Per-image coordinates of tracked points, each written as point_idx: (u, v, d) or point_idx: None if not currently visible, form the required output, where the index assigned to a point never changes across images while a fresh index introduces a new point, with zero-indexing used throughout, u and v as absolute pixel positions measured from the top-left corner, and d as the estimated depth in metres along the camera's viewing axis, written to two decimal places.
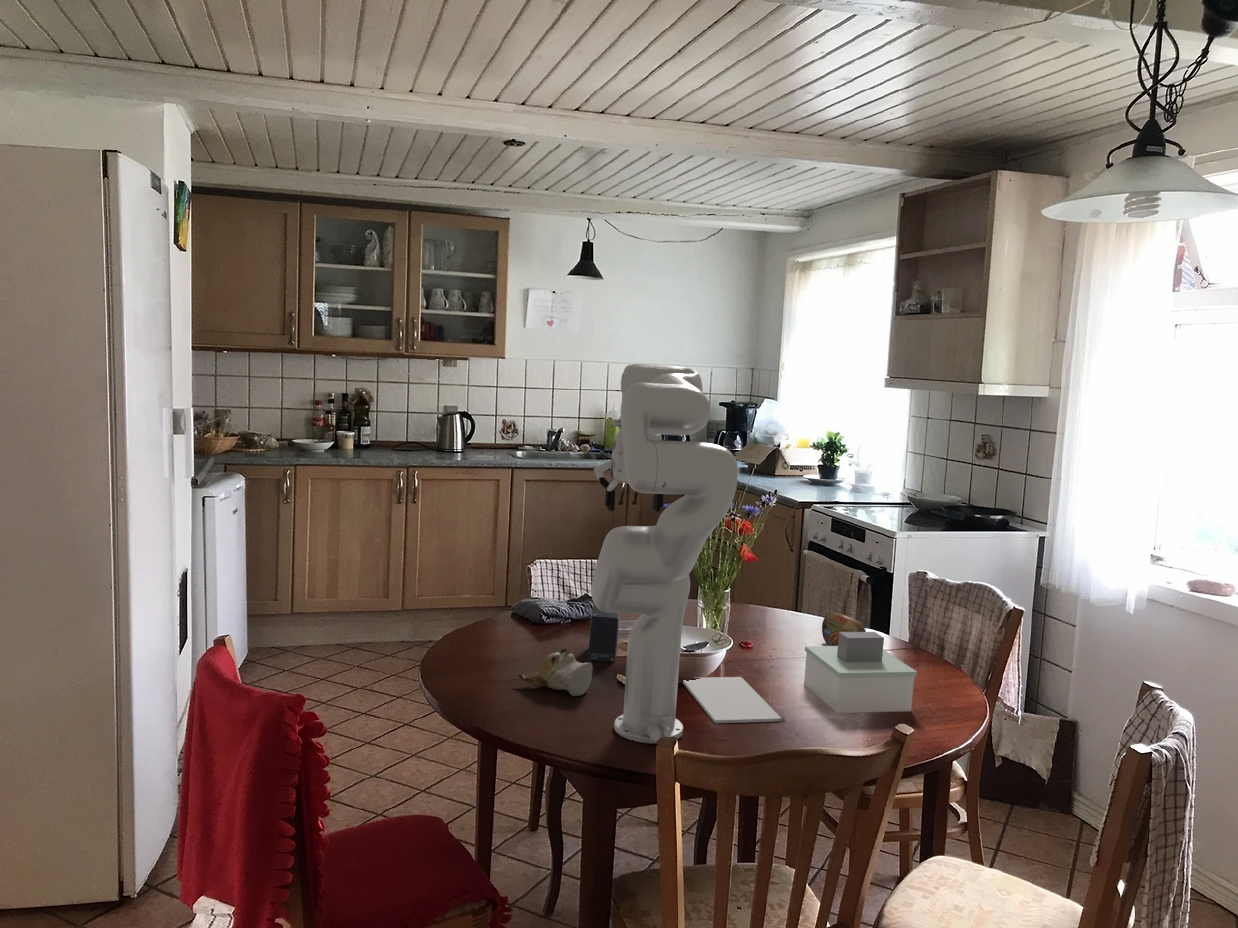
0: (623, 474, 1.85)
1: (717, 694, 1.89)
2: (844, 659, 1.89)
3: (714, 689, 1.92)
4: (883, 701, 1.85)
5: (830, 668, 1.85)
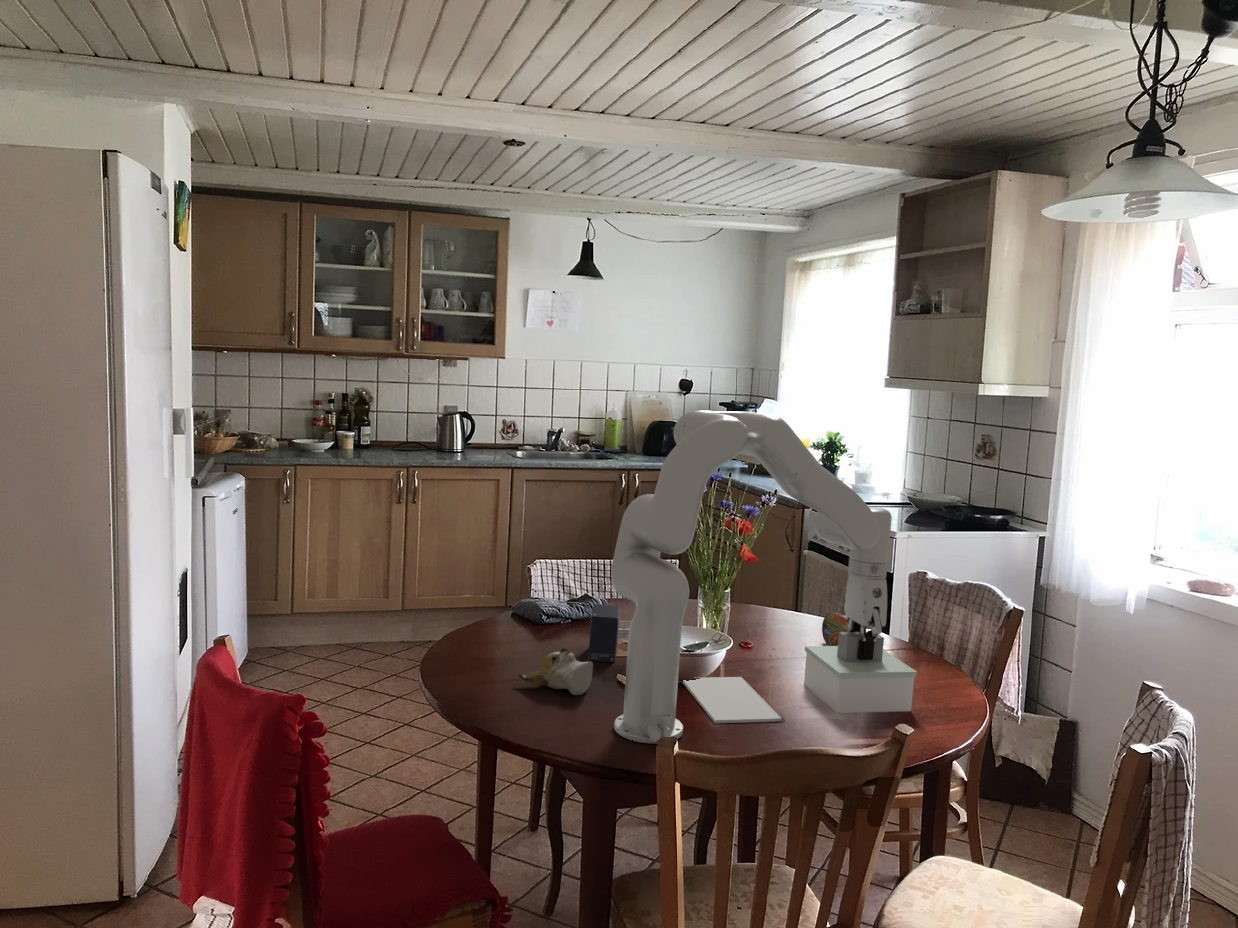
0: None
1: (717, 694, 1.89)
2: (844, 659, 1.89)
3: (714, 689, 1.92)
4: (883, 701, 1.85)
5: (830, 668, 1.85)
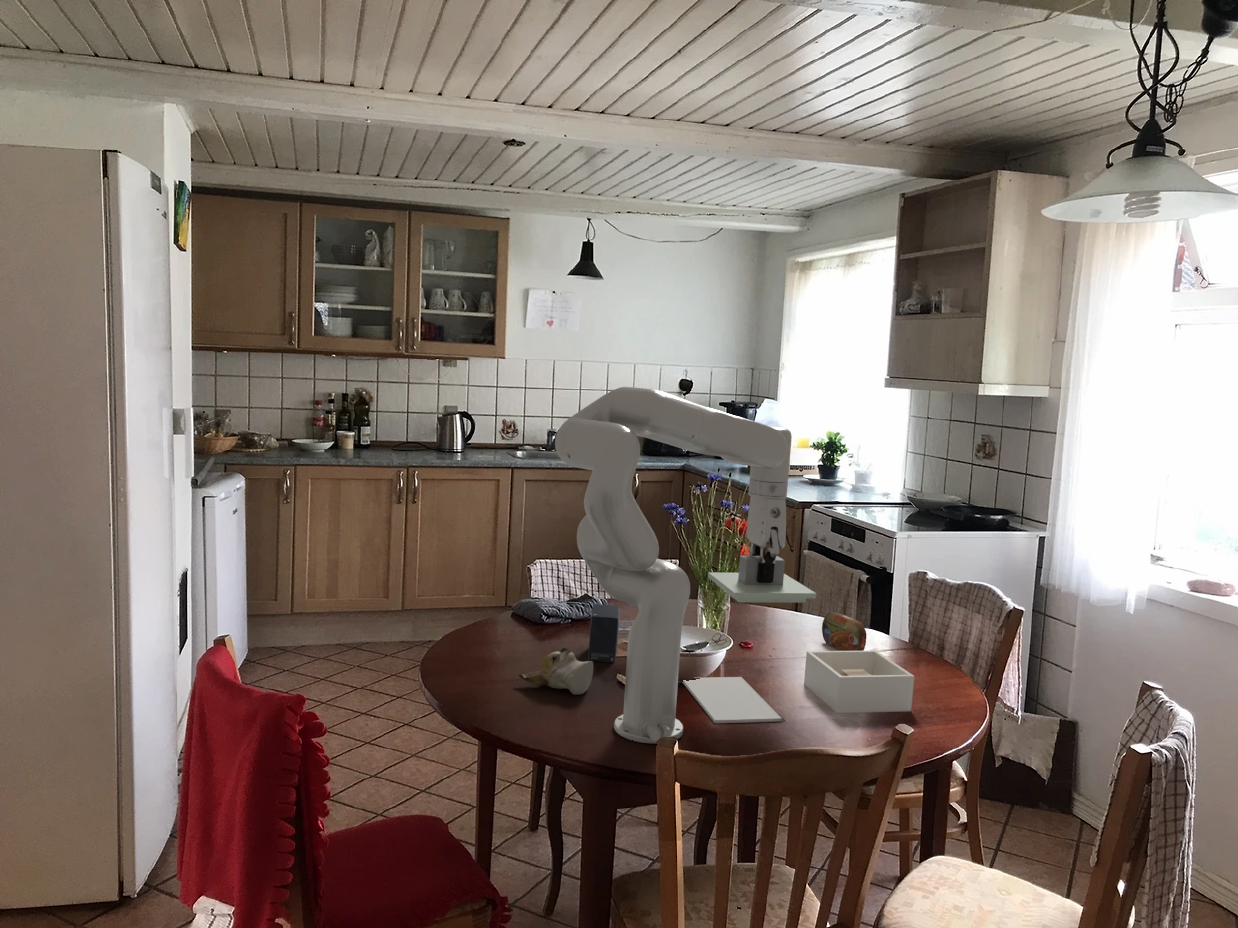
0: None
1: (717, 694, 1.89)
2: (744, 582, 1.84)
3: (714, 689, 1.92)
4: (883, 701, 1.85)
5: (727, 590, 1.81)
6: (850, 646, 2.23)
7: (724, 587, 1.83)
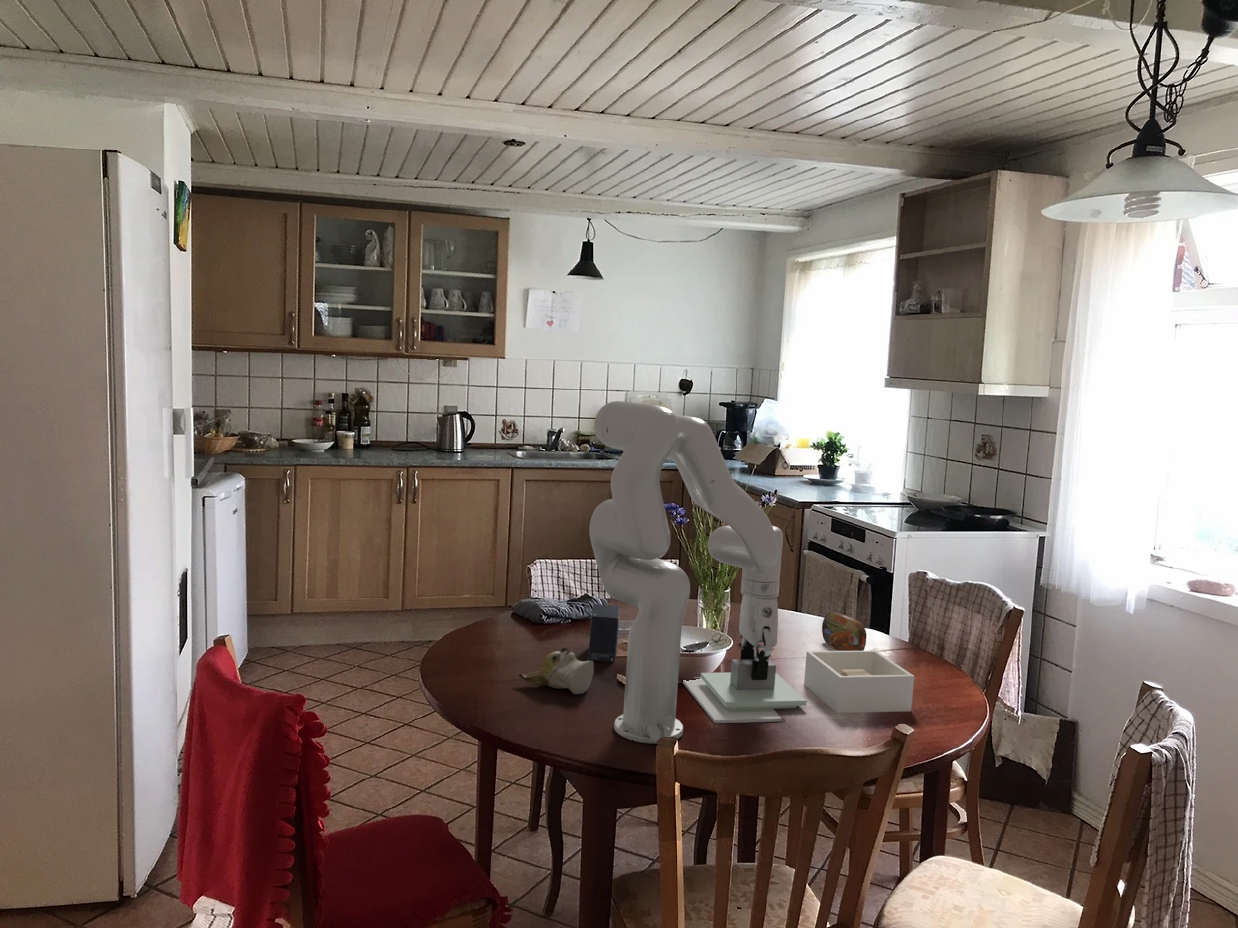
0: None
1: None
2: (735, 687, 1.87)
3: None
4: (883, 701, 1.85)
5: (719, 697, 1.83)
6: (850, 646, 2.23)
7: (716, 693, 1.85)
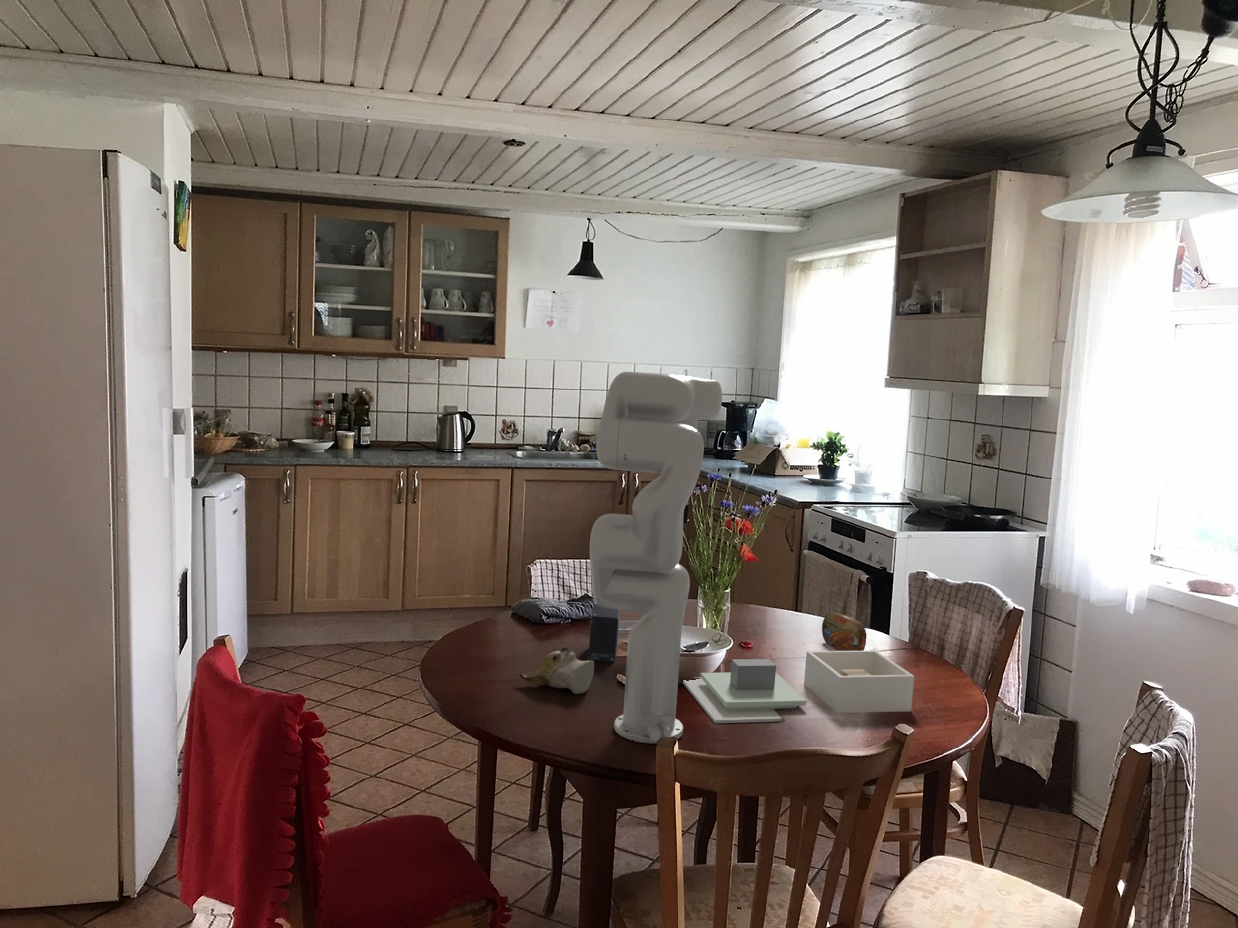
0: None
1: None
2: (735, 687, 1.87)
3: None
4: (883, 701, 1.85)
5: (719, 697, 1.83)
6: (850, 646, 2.23)
7: (716, 693, 1.85)
